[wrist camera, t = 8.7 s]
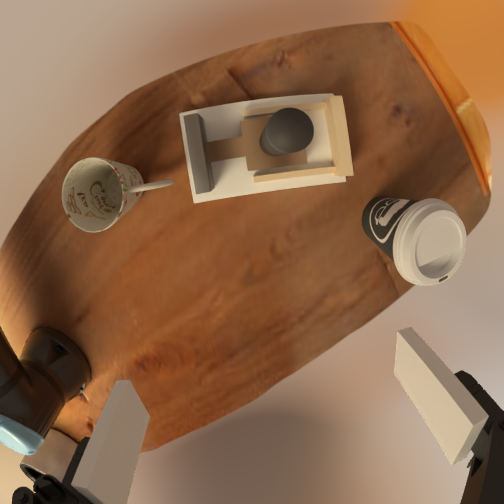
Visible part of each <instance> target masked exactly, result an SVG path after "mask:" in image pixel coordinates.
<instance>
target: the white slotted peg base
mask: <svg viewBox="0 0 504 504" xmlns="http://www.w3.org/2000/svg"><path fill="white" fill-rule="evenodd" d="M290 107H291V108H297V109H299V110H301V111H303V112H305V113H306V114H307V115H308V116H309V117H310V119H311V121H312V123H313V126H314V136H313V139H312V141H311V143H310V144H309V145H308V146H307V147H306V155H307V162H308V164H299V165H291V166H283V167H275V168H268V169H261V170H254V171H248V169H247V163H246V157H240V158H233V159H227V160H221V161H216V162H211V168H212V174H213V180H214V186H215V188H214V189H213V190H212V191H211V192H207V193H201V194H196V191H195V185H194V179H193V174H192V168H191V162H190V156H189V150H188V143H187V137H186V130H185V124H184V117H183V116H185V115H189V114H194V113H198V114H199V115H200V116H201V117H202V118H203V119H204V124H205V130H206V137H207V142H211V141H216V140H222V139H228V138H234V137H240V136H242V131H241V125H240V121H244V120H251V119H258V118H266V117H272V115H273V114H274V113H275V112H277V111H278V110H280V109H283V108H290ZM179 116H180V123H181V129H182V136H183V142H184V148H185V155H186V161H187V167H188V173H189V178H190V184H191V190H192V195H193V201H194V203H199V202H204V201H210V200H216V199H222V198H228V197H234V196H241V195H247V194H254V193H260V192H267V191H274V190H281V189H289V188H297V187H304V186H312V185H321V184H330V183H339V182H346V177H345V176H353V167H352V158H351V150H350V143H349V136H348V129H347V122H346V116H345V110H344V104H343V98H342V96H334V95H333V93H330V94H310V95H296V96H285V97H275V98H266V99H258V100H250V101H243V102H237V103H230V104H224V105H218V106H213V107H207V108H202V109H197V110H192V111H188V112H183V113H179Z"/></svg>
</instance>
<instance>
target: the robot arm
mask: <svg viewBox="0 0 504 504" xmlns="http://www.w3.org/2000/svg"><path fill="white" fill-rule="evenodd" d="M394 374H395V376H396V377H397V379H398V380H399V382H400V383H401V385H402V386H403V388H404V390H405V391H406V393H407V394H408V396H409V397H410V399H411V400H412V402H413V403H414V405H415V407H416V408H417V410H418V411H419V413H420V414H421V416H422V418H423V419H424V421H425V422H426V424H427V425H428V427H429V429H430V430H431V432H432V434H433V435H434V437H435V438H436V440H437V442H438V443H439V445H440V447H441V448H442V450H443V452H444V453H445V455H446V457H447V458H448V460H449V462H450V463H451V465H453V464H455V463H457V462H459V461H461V460H462V459H464V458H466V457H467V455H468V454H469V452H470V450H472V452H473V453H474V456H473V457H472V459H471V460H470V462H469V463H468V466H467V468H469V467H470V465H471V467H470V471H469V475H468V479H467V483H466V486H465V490H464V493H463V496H462V500H461V503H460V504H504V411H503V410H502V409H501V408H500V407H499V406H498V405H497V404H496V402H495V401H494V400H493V399H492V398H491V397H490V396H489V394H488V393H487V392H486V391H485V390H483V388H482V386H481V385H480V384H478V382H477V381H476V380H475V379H474V378H473V377H472V376H471V375H470V374H468V373H466V372H464V371H462V370H461V371H459V372H457V373H455V374H453V373H452V371H451V370H450V369H449V368H448V367H447V366H446V365H445V364H444V362H443V361H442V360H441V359H440V358H439V357H438V356H437V355H436V354H435V352H434V351H433V350H432V349H431V348H430V347H429V346H428V345H427V344H426V343H425V341H424V340H423V339H422V338H421V337H420V336H419V335H418V334H417V333H416V332H415V331H414V330H413V329H412V328H411V327H409V328H406V329H403V330H400V331H398V333H397V346H396V357H395V367H394ZM90 379H91V372H90V367H89V364H88V362H87V360H86V358H85V356H84V355H83V353H82V352H81V351H80V349H79V348H78V347H77V346H76V345H75V344H74V343H73V342H72V341H71V340H70V339H69V338H68V337H66V336H65V335H63V334H62V333H60V332H58V331H56V330H54V329H51V328H44V327H43V328H38V329H36V330H35V331H34V332H33V333H32V334H31V335H30V336H29V337H28V338H27V340H26V344H25V346H24V348H23V351H22V353H21V356H20V359H18V358H17V356H16V354H15V353H14V351H13V349H12V347H11V345H10V344H9V342H8V340H7V338H6V336H5V334H4V332H3V330H2V328H1V327H0V442H1V443H2V444H4V445H5V446H7V447H8V448H10V449H12V450H14V451H16V452H18V453H21V454H24V455H33V454H35V453H36V452H37V450H38V449H39V447H40V446H41V445H42V443H44V442H45V438H46V436H47V434H48V432H49V431H50V429H51V427H52V425H53V424H54V422H55V420H56V419H57V417H58V415H59V413H60V412H61V410H62V408H63V407H64V405H65V404H66V403H67V402H69V401H70V400H72V399H73V398H75V397H76V396H78V395H79V394H81V393H82V392H83V391H84V390H85V389H86V387H87V385H88V384H89V382H90ZM149 419H150V416H149V414H148V412H147V411H146V409H145V407H144V405H143V404H142V402H141V400H140V398H139V396H138V395H137V393H136V391H135V389H134V387H133V385H132V383H131V382H130V380H117V381H116V383H115V385H114V387H113V389H112V391H111V393H110V396H109V398H108V400H107V402H106V404H105V406H104V408H103V411H102V413H101V415H100V417H99V419H98V422H97V424H96V426H95V428H94V431H93V433H92V435H91V437H84V438H83V439H82V440H81V442H80V443H79V444H78V445H77V448H76V450H75V452H74V453H75V454H73V457H72V461H70V464H69V466H68V468H67V471H66V473H65V475H64V478H63V480H62V482H59V481H58V480H57V479H56V478H55V477H54V476H52V475H50V474H45V475H41V476H40V477H38V478H37V479H36V481H35V482H34V485H33V488H34V489H33V490H34V492H36V493H33V492H32V491H31V490H30V489H29V488H27V487H19V488H18V489H17V490H15V492H14V493H13V497H12V504H127V500H128V496H129V492H130V488H131V484H132V480H133V477H134V473H135V469H136V465H137V461H138V457H139V454H140V450H141V447H142V443H143V439H144V436H145V432H146V429H147V425H148V422H149Z"/></svg>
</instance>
